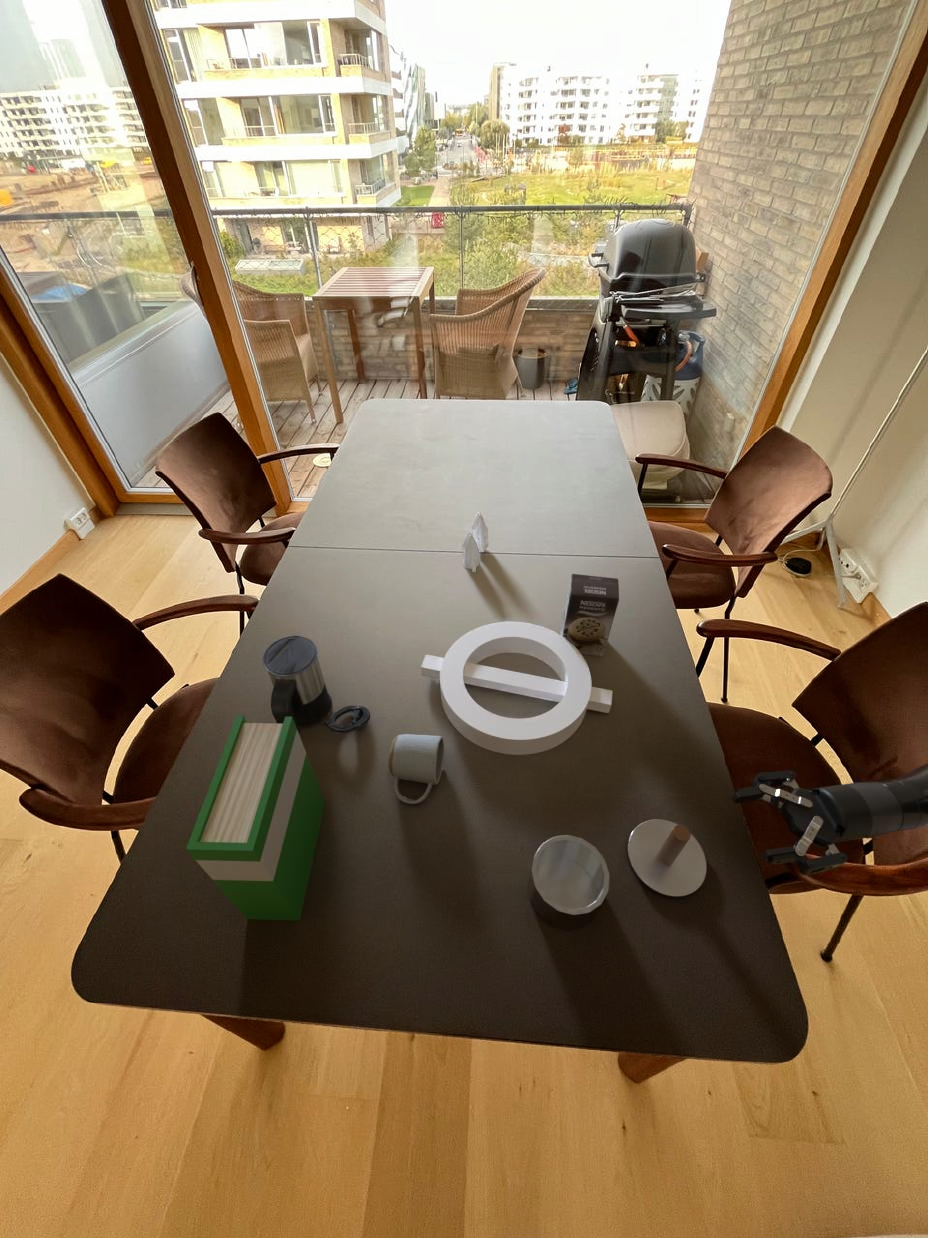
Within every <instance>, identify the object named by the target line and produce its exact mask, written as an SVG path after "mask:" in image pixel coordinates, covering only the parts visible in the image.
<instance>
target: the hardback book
mask: <svg viewBox="0 0 928 1238" xmlns="http://www.w3.org/2000/svg"><path fill="white" fill-rule="evenodd" d="M303 743H304V742H303V741H302V738H301V735H300V736H299V733H298V730H297V728H296V725H295V723H294V720H293V717H285V719H284V722H283V724H277V723H273V722H272V723H269V722H268V723H267V722H266V723H265V722H247V720H246V718H245V716H244V715H236V716H235V719H234V721H233V724H232V726H231V729H230V732H229V734H228V737H227V740H226V742H225V745H224V748H223V750H222V753H221V755H220V759H219V760H218V763H217V766H216V768H215V772H214V774H213V777H212V779H211V782H210V785H209V787H208V789H207V793H206V795H205V798H204V801H203V803H202V806H201V809H200V810H199V813H198V815H197V819H196V821H195V824H194V826H193V830H192V832H191V835H190V837H189V839H188V841H187V845H186V847H185V850H186V852H188V854H189V855H190V856H191V857H192V858H193V860H194V861H195V862H196V863H197V864H198V865H199V867H200V868H202V870H203V871H204V872H205V874H207V876H208V877H210V878H211V880H212V881H213V882H214V883H215V885H216V886H217V887H218V888H219V889H220V890H221V891H222V892H223V893H224V895H226V897H227V898H228V899H229V900H230V901H231V903H232V904H233V905H234V906H235V908H237V910H239V912H240V913H241V914H242V915H243V917H245V918H246V920H256V921H257V920H259V921H296V922H297V921H298V922H299V921H301V917H302V913H303V908H304V902H305V899H306V894H307V890H308V889H307V888H308V883H309V881H310V874H311V870H312V867H313V862H314V856H315V852H316V847H317V842H318V837H319V833H320V828H321V823H322V818H323V815H324V814H323V813H324V809H325V805H326V801H325V798H324V795H323V793H322V790H321V788H320V784H319V783H318V780H317V778H316V774H315V772H314V770H313V767H312V764H311V761H310V759H309V757H308V754H307V751H306V749H305V746H304V744H303Z"/></svg>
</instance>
